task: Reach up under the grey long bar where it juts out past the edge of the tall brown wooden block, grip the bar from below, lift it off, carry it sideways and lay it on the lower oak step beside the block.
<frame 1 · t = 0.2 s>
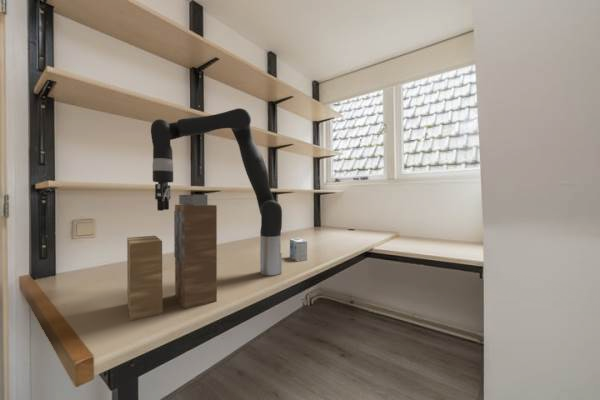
hand: (163, 210, 106), 29 cm above the table, tool pointing down, fingers open, 8 cm apart
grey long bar: (192, 204, 91), point 32 cm above the table, touching tall brown wooden block
oak step: (144, 308, 80), on the table
tall brown wooden block: (195, 298, 89), on the table
light bulb box: (298, 259, 146), on the table
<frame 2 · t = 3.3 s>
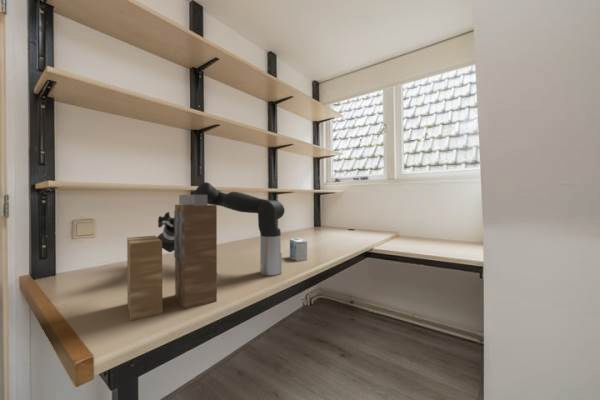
hand: (180, 213, 107), 28 cm above the table, tool pointing upward, fingers open, 8 cm apart
nothing on the table moved.
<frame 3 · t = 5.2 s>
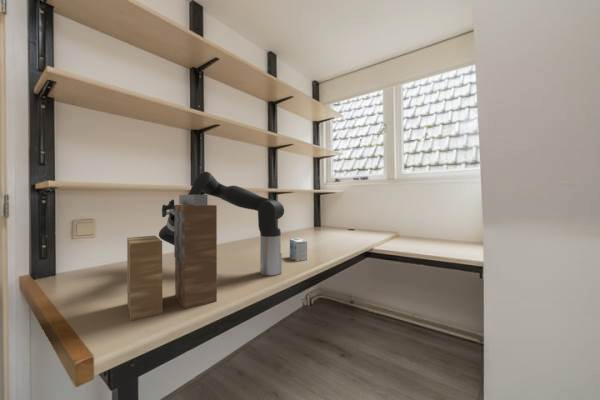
hand: (185, 201, 100), 33 cm above the table, tool pointing upward, fingers open, 8 cm apart
nothing on the table moved.
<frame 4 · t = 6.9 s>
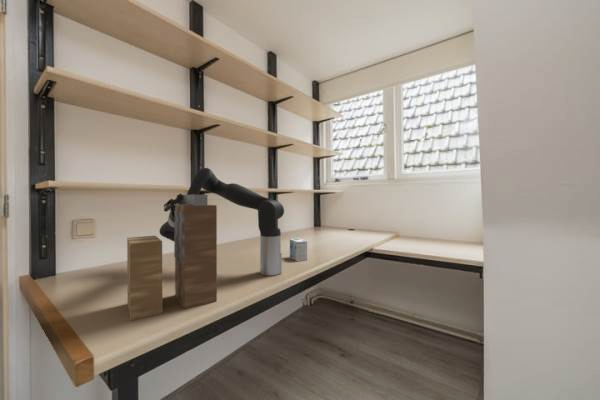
hand: (187, 195, 97), 35 cm above the table, tool pointing upward, fingers closed on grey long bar, 4 cm apart
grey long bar: (192, 204, 91), point 32 cm above the table, touching gripper, tall brown wooden block
everything else where it was.
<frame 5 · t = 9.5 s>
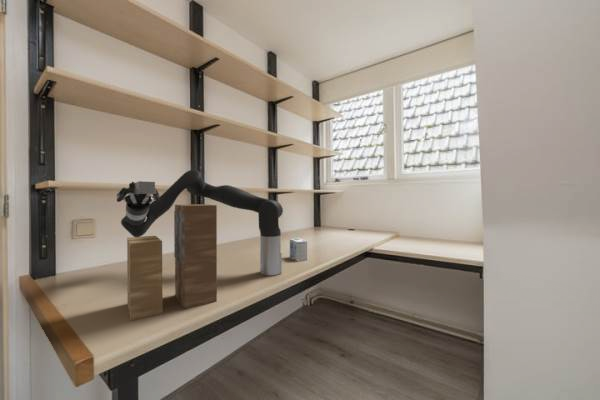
hand: (141, 184, 88), 39 cm above the table, tool pointing upward, fingers closed on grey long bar, 4 cm apart
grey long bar: (143, 193, 83), point 36 cm above the table, touching gripper
everything else where it was.
when the fingers open (25 cm above the table, at t = 12.6 s): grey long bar stays where it is, resting on oak step.
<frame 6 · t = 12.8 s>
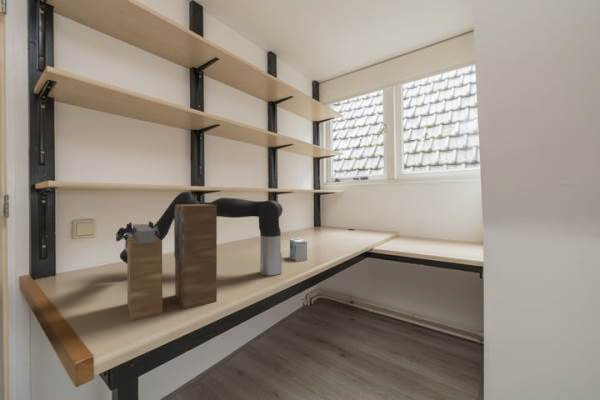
hand: (140, 224, 88), 25 cm above the table, tool pointing upward, fingers open, 5 cm apart
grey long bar: (142, 238, 83), point 21 cm above the table, touching oak step
everything else where it was.
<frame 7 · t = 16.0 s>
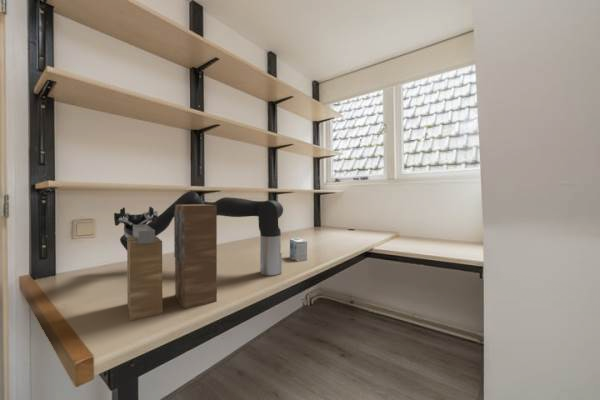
hand: (137, 209, 96), 30 cm above the table, tool pointing upward, fingers open, 8 cm apart
nothing on the table moved.
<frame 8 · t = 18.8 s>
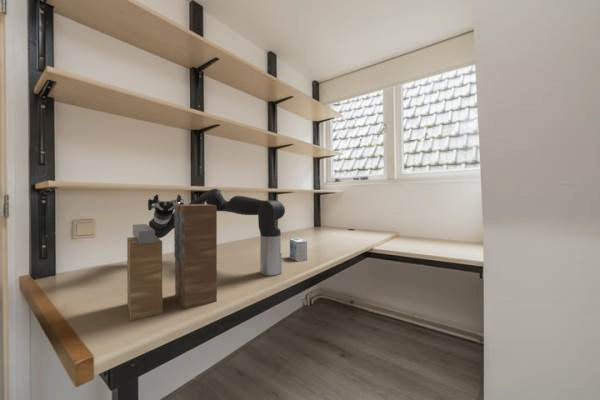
hand: (168, 196, 112), 35 cm above the table, tool pointing upward, fingers open, 8 cm apart
nothing on the table moved.
at the end: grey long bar inside the target area (0.1 cm from its centre), point 21.5 cm above the table; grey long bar touching oak step; the gripper is holding nothing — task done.
